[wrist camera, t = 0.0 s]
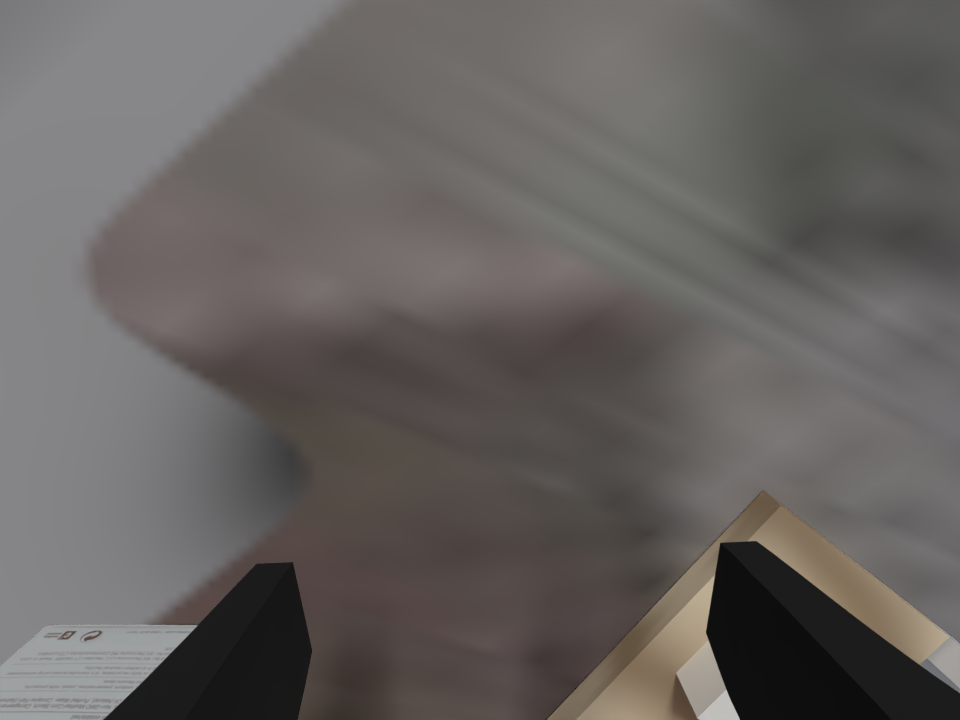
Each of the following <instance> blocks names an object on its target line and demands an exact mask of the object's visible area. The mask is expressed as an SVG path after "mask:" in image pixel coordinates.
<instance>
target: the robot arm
mask: <svg viewBox="0 0 960 720" xmlns="http://www.w3.org/2000/svg"><path fill="white" fill-rule="evenodd" d="M706 634H707V637H708V640H709V643H710V646H711V649H712V652H713V654H714V657H715V660H716V663H717V666H718V669H719V671H720V674H721V677H722V679H723V682H724V684H725V687H726V690H727V692H728V695H729V698H730V700H731V702H732V704H733V706H734V708H735V710H736V712H737V714H738V716H739V719H740V720H960V693H959V692H958V691H956V690H955V689H953V688H952V687H950V686H949V685H947V684H946V683H945V682H943V681H942V680H940V679H939V678H937V677H936V676H934V675H933V674H932V673H930V672H929V671H928V670H926V669H925V668H923V667H922V666H921V665H919V664H918V663H916V662H915V661H914V660H912V659H911V658H910V657H908V656H907V655H905V654H904V653H903V652H901V651H900V650H899V649H897V648H896V647H895V646H893V645H892V644H890V643H889V642H888V641H886V640H885V639H884V638H882V637H881V636H880V635H878V634H877V633H876V632H874V631H873V630H872V629H870V628H869V627H868V626H866V625H865V624H864V623H863V622H861V621H860V620H859V619H857V618H856V617H855V616H853V615H852V614H851V613H849V612H848V611H847V610H846V609H844V608H843V607H842V606H840V605H839V604H838V603H836V602H835V601H834V600H833V599H831V598H830V597H829V596H827V595H826V594H825V593H824V592H822V591H821V590H820V589H818V588H817V587H816V586H815V585H813V584H812V583H811V582H809V581H808V580H807V579H806V578H804V577H803V576H802V575H800V574H799V573H798V572H797V571H795V570H794V569H793V568H791V567H790V566H789V565H788V564H786V563H785V562H784V561H782V560H781V559H780V558H779V557H777V556H776V555H775V554H773V553H772V552H771V551H769V550H768V549H767V548H765V547H764V546H763V545H761V544H760V543H759V542H757V541H746V542H724V543H720V547H719V554H718V560H717V566H716V572H715V578H714V585H713V591H712V597H711V603H710V610H709V616H708V622H707V628H706ZM311 654H312V648H311V643H310V639H309V634H308V630H307V625H306V621H305V616H304V611H303V607H302V602H301V598H300V593H299V588H298V584H297V579H296V575H295V570H294V566H293V562H289V563H267V564H256V565H255V566H254V567H253V568H252V569H251V570H250V571H249V572H248V573H247V574H246V575H245V576H244V577H243V579H242V580H241V581H240V582H239V583H238V584H237V585H236V586H235V587H234V588H233V589H232V590H231V591H230V592H229V593H228V594H227V595H226V596H225V597H224V598H223V599H222V600H221V601H220V603H219V604H218V605H217V606H216V607H215V608H214V609H213V610H212V611H211V612H210V613H209V614H208V615H207V616H206V617H205V618H204V619H203V620H202V621H201V622H200V624H199V625H198V626H197V627H196V628H195V629H194V630H193V631H192V632H191V633H190V634H189V635H188V636H187V637H186V638H185V639H184V640H183V641H182V642H181V643H180V644H179V645H178V646H177V647H176V648H175V649H174V650H173V651H172V652H171V653H170V654H169V655H168V656H167V658H166V659H165V660H164V661H163V662H162V663H161V664H160V665H159V666H158V667H157V668H156V669H155V670H154V671H153V672H152V673H151V674H150V675H149V676H148V677H147V678H146V679H145V680H144V681H143V682H142V683H141V684H140V685H139V686H138V687H137V688H136V689H135V690H134V691H133V692H132V693H131V694H130V695H128V696H127V697H126V698H125V699H124V700H123V701H122V702H121V703H120V704H119V705H118V706H117V707H116V708H115V709H114V710H113V711H112V712H111V713H110V714H109V715H108V716H106V717H105V718H104V719H103V720H297V719H298V715H299V710H300V706H301V701H302V697H303V693H304V688H305V683H306V678H307V673H308V669H309V664H310V659H311Z"/></svg>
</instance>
